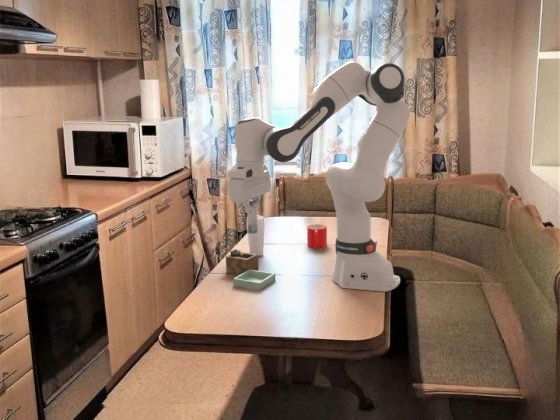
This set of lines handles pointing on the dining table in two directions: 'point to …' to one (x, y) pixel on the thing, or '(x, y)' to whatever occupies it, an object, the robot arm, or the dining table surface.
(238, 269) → the tensioner block
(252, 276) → the tray
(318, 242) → the mug
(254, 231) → the pin
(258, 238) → the white tall cup
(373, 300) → the dining table surface
